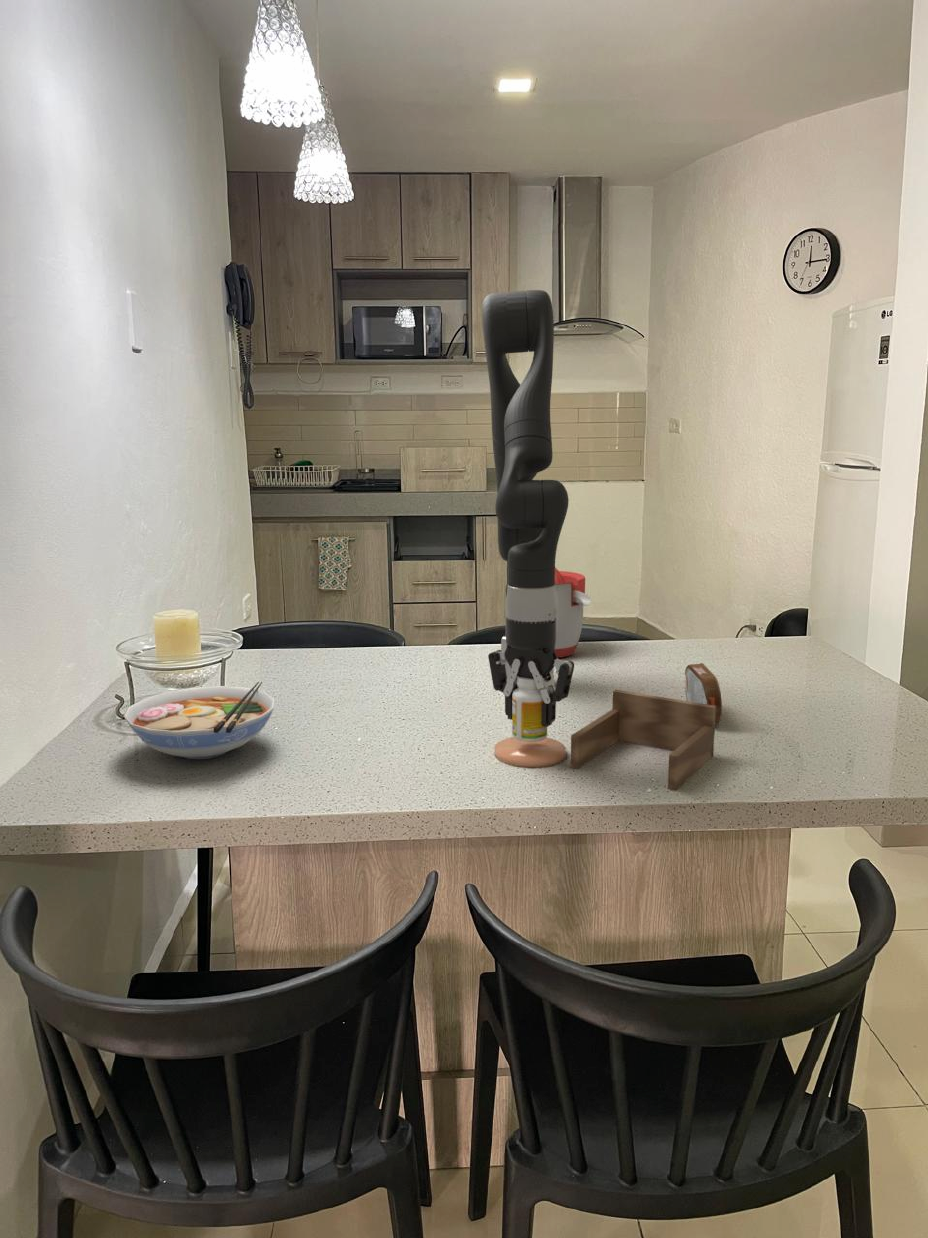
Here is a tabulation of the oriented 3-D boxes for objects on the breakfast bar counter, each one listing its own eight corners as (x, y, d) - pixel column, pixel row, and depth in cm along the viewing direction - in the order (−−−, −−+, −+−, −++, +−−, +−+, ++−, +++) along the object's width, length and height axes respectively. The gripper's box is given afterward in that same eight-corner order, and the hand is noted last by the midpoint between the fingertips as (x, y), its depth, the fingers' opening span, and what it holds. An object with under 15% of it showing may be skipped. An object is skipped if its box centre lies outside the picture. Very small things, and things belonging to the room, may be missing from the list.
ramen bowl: (159, 725, 162) (155, 679, 160) (293, 725, 161) (290, 679, 159) (100, 782, 137) (94, 728, 135) (257, 782, 137) (253, 728, 135)
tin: (722, 730, 157) (725, 681, 155) (703, 730, 157) (706, 681, 155) (698, 702, 172) (700, 657, 170) (681, 702, 172) (683, 657, 170)
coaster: (481, 758, 145) (481, 752, 145) (516, 737, 154) (517, 731, 154) (544, 772, 139) (544, 766, 139) (577, 750, 148) (578, 744, 148)
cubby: (570, 767, 141) (571, 716, 140) (614, 736, 154) (616, 689, 153) (675, 790, 133) (678, 736, 131) (713, 755, 146) (715, 705, 144)
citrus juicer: (570, 667, 195) (572, 571, 191) (498, 655, 205) (498, 564, 200) (603, 650, 208) (605, 560, 204) (533, 641, 217) (534, 554, 213)
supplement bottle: (554, 736, 146) (555, 675, 144) (532, 745, 143) (532, 683, 140) (527, 728, 150) (527, 669, 148) (505, 737, 146) (505, 676, 144)
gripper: (477, 613, 143) (477, 720, 147) (562, 624, 135) (560, 737, 139) (502, 604, 149) (502, 707, 153) (585, 614, 141) (583, 723, 145)
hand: (530, 721), depth 146 cm, fingers closed on supplement bottle, 5 cm apart
